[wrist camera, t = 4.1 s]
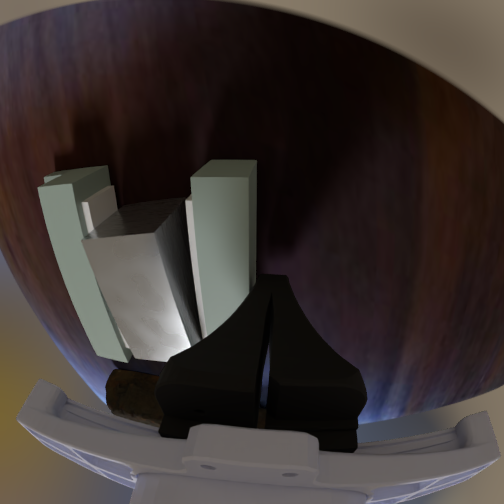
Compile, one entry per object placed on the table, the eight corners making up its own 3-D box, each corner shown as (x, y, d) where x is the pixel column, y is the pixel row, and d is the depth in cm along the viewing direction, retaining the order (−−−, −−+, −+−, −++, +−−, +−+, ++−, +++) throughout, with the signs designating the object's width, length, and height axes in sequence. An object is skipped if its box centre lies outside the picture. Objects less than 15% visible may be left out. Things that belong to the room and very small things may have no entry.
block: (187, 196, 13) (153, 232, 10) (214, 311, 17) (197, 364, 13) (124, 204, 14) (80, 240, 10) (159, 311, 17) (135, 358, 14)
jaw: (256, 160, 12) (248, 177, 9) (255, 343, 17) (249, 382, 15) (202, 159, 12) (179, 177, 10) (217, 340, 18) (206, 377, 15)
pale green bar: (114, 164, 13) (78, 182, 10) (150, 331, 18) (133, 364, 15) (54, 171, 13) (19, 189, 10) (98, 321, 18) (79, 350, 16)
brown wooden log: (339, 405, 21) (342, 453, 17) (318, 425, 23) (319, 468, 19) (113, 346, 20) (89, 390, 16) (117, 372, 22) (97, 412, 18)
